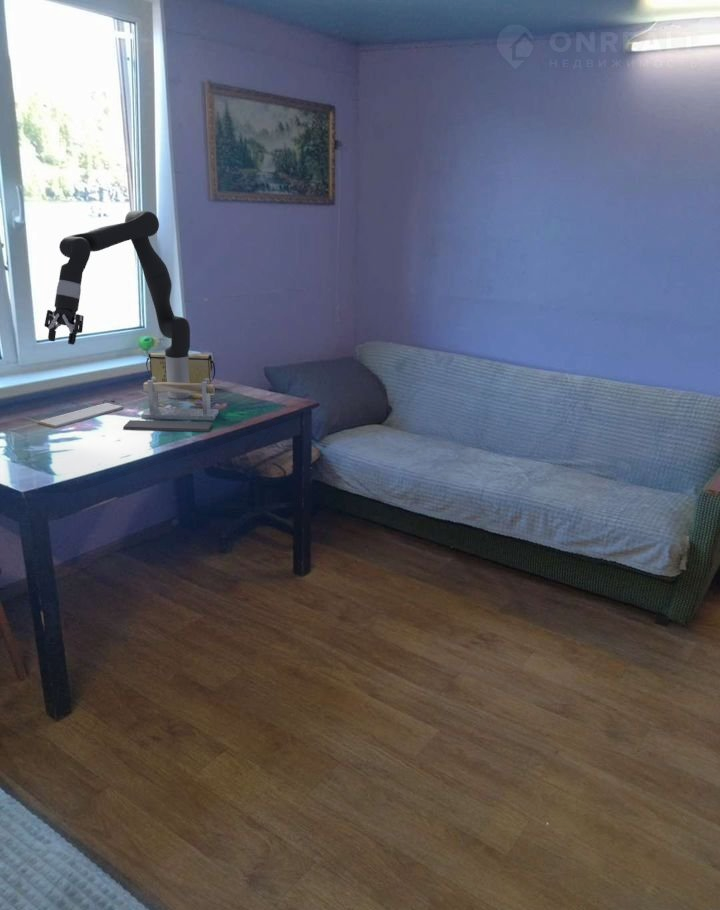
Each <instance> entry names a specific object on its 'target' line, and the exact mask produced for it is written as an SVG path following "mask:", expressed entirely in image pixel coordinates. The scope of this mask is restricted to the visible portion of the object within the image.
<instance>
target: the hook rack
mask: <svg viewBox="0 0 720 910" xmlns="http://www.w3.org/2000/svg"><path fill="white" fill-rule="evenodd" d="M204 381H205V382H202V393H201V398H202V401H201V402H202V408H189V407H188V408H187V407H159V396H158V395H159V394H158V393H159V392H154V390H153V382H157V377H152V378H151V377H150V379H148V380H147V381H146V382H148V392H147V393H148V395H147V396H148V407H147V408H146V409H145V410H144V411H143V412H142V413H141V415H140V416H141V419H151V420H153V419H154V420H186V421H187V420H188V421H215V420H216V418H217V416H218V415H219V408H218V409H217V408H211V393H207V384H210V380H209V379H208V378H205V379H204Z"/></svg>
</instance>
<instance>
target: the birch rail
mask: <svg viewBox="0 0 720 910" xmlns="http://www.w3.org/2000/svg"><path fill="white" fill-rule="evenodd" d="M142 385H143V392H147V393H148V382H147V381H144V383H143V384H142ZM215 389H216V388H215V383H211V384H207V393H210V394H214V393H215V392H216V391H215ZM153 390H154V392H158V393H168V392H181V393H190V394H202V383H171V382H153Z"/></svg>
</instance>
